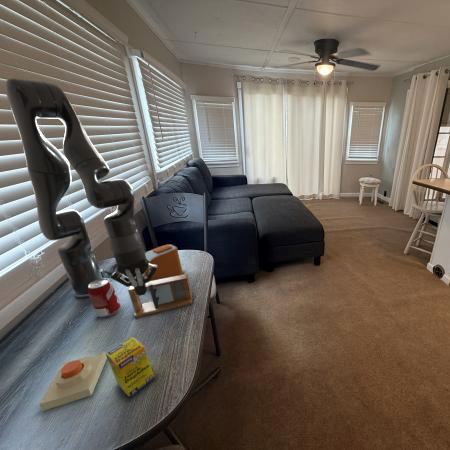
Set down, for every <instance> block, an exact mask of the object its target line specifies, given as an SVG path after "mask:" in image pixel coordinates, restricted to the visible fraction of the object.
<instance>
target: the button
mask: <svg viewBox="0 0 450 450" xmlns="http://www.w3.org/2000/svg"><path fill="white" fill-rule="evenodd" d="M68 362H69V363H68ZM68 362H67V363H68V364H66V365H65V366H64V367H63V368H62V369H61V368H60V369H61V373H62V375H63V377H64V378H70V377H73V376H74V375H76V374H78V373H79V372H80V371H81V370H82V368H83V366H82V364H81V362H80V361H79V360H78V359H75V360H72V361H68Z"/></svg>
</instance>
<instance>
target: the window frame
mask: <svg viewBox="0 0 450 450" xmlns="http://www.w3.org/2000/svg"><path fill="white" fill-rule="evenodd" d="M172 283H173V287H174V291H175V295H176V301H172V302H167V303H163V304H159V308H157V309H155V307H154V303H153V300H152V301H147V302H143V303H142V300H141V298H140V297H141V296H139V295H137V294H136V292H135V289H134V287H133V286H129V287H128V289H127V292H128V294H129V298H130V301H131V304H132V307H133V310H134V313H133V317H134V318H139V317H144V316H146V315H151V314H155V313H160V312H164V311H168V310H171V309H175V308H180V307H184V306H188V305H189V306H190V305H192V304H193V292H192V289H191V284H190V281H189V276H188V273H185V274H182V275H179V276H174V277H169V278H164V279H159V280H154V281H149V282H148V283H145V284H146V288H147V290H148V288H149V286H148V285H149V284H153V287H158V286H162V285H167V284H172Z"/></svg>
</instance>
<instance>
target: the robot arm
mask: <svg viewBox="0 0 450 450" xmlns="http://www.w3.org/2000/svg"><path fill="white" fill-rule="evenodd" d="M4 85H5V94H6V97H7V101H8V103H9V106H10V107H9V108H10V110H11V112H12V115H13V118H14V121H15V124H16V127H17V130H18V133H19V136H20V139H21V144H22V149H23V153H24V157H25V162H26V167H27V172H28V175H29V179H30V183H31V186H32V190H33V193H34V198H35V202H36V210H37V221H38V225H39V229H40V231H41V233H42V235H43V236H44V237H45V238H46V239H47V240H49V241H59V240H63V239H66V238H69V237H70V238H69V239H68V241H67V242H65V243H64V244H62V245H61V246H60V247H58V249H57V254H58V257H59V259H60V261H61V264H62V266H63V268H64V270H65V272H66V275H67V277H68V280H69V282H70V284H71V286H72V289H73V291H74V295H75V296H76V298H81V299H83V298H88V297H89V294H88V289H89V288H88V285H89V284H90V283H92V282H94V281H96V280H99V279H104V278H106V276H107V275H111V276H110V279H112V280H114V281H115V282H117V283H120V284H121V285H123V286H124V287H126V288H129V287H130V286H133V287H134V289H135V292H136V294H137V295H139V297H141V296H145V295H146V293H147V291H148V289H147V288H146V284H145V283H148V282H149V281H150V279H151V278H152V276H153V275H154V273H155V271H156V270H157V267H158V265H157V264H154V265H153V264H150V263H149V261H148V260H147V259H146V256H145V253H146V252H145V248H144V246H143V241H142V238H141V236H140V234H139V231H138V228H137V225H136V222H135V221H136V220H135V217H134V216H135V191H134V188H133V186H132V185H131V184H130V182H129V181H127V180H126V179H122V178H118V179H111V180H104V181H100V180H102V179H104V178H106V177H107V176H108V175H109V174H110V167H109V165H108V164H107V162H106V161H105V160H104V158H103V157H102V155H101V154H100V153H99V151H98V150H97V149H96V147H95V146H94V145H93V143H92V141H91V140H90V138H89V136H88V134H87V132H86V130H85V128H84V126H83V124H82V122H81V120H80V117H79V116H78V114H77V113H76V112H77V111H76V110H75V108H74V106H73V104H72V102H71V100H70V99H69V97H68V96H67V94H66V93H65V91H64V90H63V89H62V88H61V87H60V86H59V85H57V84H55V83H51V82H47V81H40V80H32V79H25V78H18V77H17V78H16V77H10V78H7V79H6V81H5V84H4ZM37 119H51V120H52V119H53V120H54V119H55V120H56V119H58V120H60V121H61V122H62V123H63V125H64V127H65V130H64V131H65V132H64V137H63V141H62V150H63V153H62V152H61V151H60V150H58V149H57V147H55V146H54V145H53V144H52V143H51V142H50V141H49V140H48V139H47V138H46V137H45V136H44V135H43V133H42V131H41V130H40V128H39V126H38V123H37ZM70 165H71V167H72V168H73V169H74V170H75V172H76V173H77V175H78V176H79V179H80V182H81V185H82V186H83V190H84V194H85V197H86V200H87V202H88V203H89V204H90V206H93V207H94V208H96V209H99V210H104V209H109V208H113V207H116V210H115V211H113V212H112V213H110V214H108V215H106V216H105V217H104V219H103V223H104V227H105V229H106V232H107V233H106V234H107V236H108V239H109V240H108V241H109V245H110V249H111V251H112V254H113V257H114V260H115V264H113V265H112V266H111V267H110V270H109V271H108V270H105V269H104V268H100V266H99V264H98V261H97V259H96V256H95V254H94V251H93V248H92V245H91V239H90V236H89V233H88V230H87V227H86V224H85V220H84V218H83V217H82V215H81V213H80V212H79V211H77V210H75V209H67V210H61V211H58V212H57V210H58V206H59V204H60V202H61V201H62V199H63V198H64V196H65V194H66V193H67V192H68V190H69V189H70V186H71V184H72V173H71V167H70ZM115 267H116V270H115V271H114V268H115ZM147 267H148V268H149V271H150V272H149V273H148V275H147V277H146V278H144V273H145V271H146V269H147Z"/></svg>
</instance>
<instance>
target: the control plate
mask: <svg viewBox="0 0 450 450" xmlns="http://www.w3.org/2000/svg"><path fill="white" fill-rule="evenodd" d="M77 360H79V361H80V362H81V364H82V366H83V368H82V370H81V371H80V372H79V373H78V374H76V375H74V376H73V377H70V378H64V377H63V375H62V373H61V369H62V368H63V367H64V366H65V365H66V364H68V363H69V362H70V361H68V362H64V363H62V365H61V367H60V368H59V370H58V372H57V373H56V374H55V376H54V378H53V380H52V382H51V384H50V386H49V387H48V388H47V390H46V392H45V394H44V396H43V397H42V399H41V400H40V402H39V407H40V408H41V410H42V411H47V410H50V409H53V408H56V407H59V406H62V405H66V404H69V403H71V402H75V401H79V400H81V399H84V398H87V397H91V396H93V394H94V391H95V388H96V386H97V384H98V381H99V378H100V376H101V374H102V371H103V369H104V366H105V365H106V362H107V360H108V359H107V356H106V352H105V351H104V352H100V353H97V354H93V355H88V356H86V357H83V358H79V359H77Z"/></svg>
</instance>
